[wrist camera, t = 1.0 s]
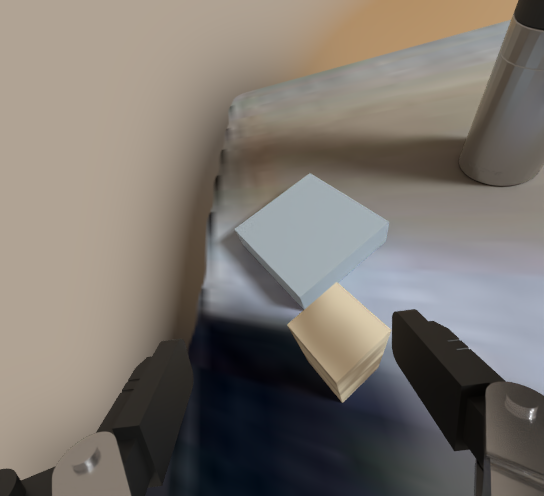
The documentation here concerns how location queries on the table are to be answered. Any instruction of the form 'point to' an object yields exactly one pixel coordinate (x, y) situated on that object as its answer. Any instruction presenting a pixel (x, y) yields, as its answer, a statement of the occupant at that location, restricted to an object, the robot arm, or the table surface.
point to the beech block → (340, 339)
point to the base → (312, 237)
